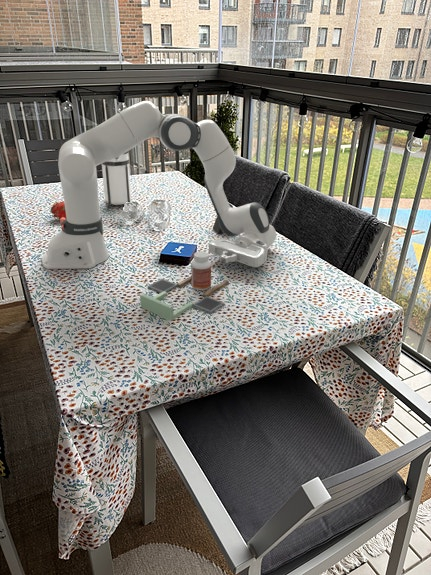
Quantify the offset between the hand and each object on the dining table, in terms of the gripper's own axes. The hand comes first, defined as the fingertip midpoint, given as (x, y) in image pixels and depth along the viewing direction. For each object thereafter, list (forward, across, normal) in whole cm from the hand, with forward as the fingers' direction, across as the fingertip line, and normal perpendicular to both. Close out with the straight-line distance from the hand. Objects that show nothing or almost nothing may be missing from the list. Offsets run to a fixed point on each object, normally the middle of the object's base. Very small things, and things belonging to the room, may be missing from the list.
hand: (223, 259), depth 147 cm
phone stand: (-33, -22, +5) cm, 40 cm away
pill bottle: (+12, 0, +5) cm, 13 cm away
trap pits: (+19, 0, +5) cm, 19 cm away
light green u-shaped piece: (+28, 0, +5) cm, 28 cm away
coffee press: (-28, -81, +5) cm, 86 cm away
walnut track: (+11, 0, +5) cm, 12 cm away
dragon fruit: (0, -82, +5) cm, 82 cm away
